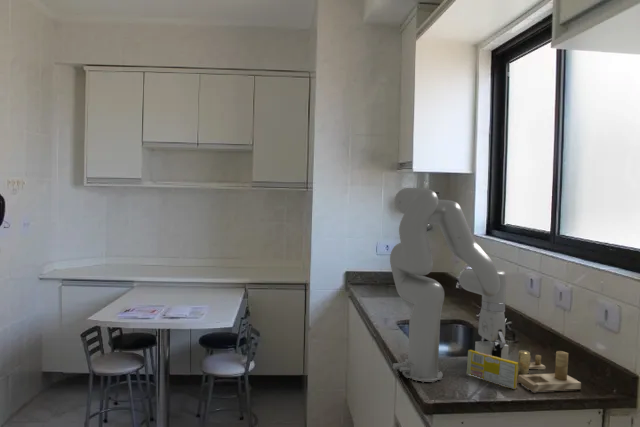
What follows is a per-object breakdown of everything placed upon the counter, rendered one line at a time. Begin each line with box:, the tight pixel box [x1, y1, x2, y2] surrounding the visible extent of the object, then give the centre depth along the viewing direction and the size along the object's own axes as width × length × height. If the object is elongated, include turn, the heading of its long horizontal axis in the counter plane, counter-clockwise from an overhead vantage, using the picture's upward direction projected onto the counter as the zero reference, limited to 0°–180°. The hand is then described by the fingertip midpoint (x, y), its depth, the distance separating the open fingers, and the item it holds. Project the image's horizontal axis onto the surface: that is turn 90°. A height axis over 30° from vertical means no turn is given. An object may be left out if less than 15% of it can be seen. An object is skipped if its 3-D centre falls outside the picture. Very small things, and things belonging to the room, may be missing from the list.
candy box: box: [466, 349, 518, 388], centre depth 159 cm, size 16×2×8 cm, turn 44°
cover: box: [474, 339, 510, 360], centre depth 174 cm, size 9×6×6 cm, turn 101°
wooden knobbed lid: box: [529, 354, 546, 370], centre depth 173 cm, size 7×4×4 cm, turn 101°
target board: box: [517, 350, 582, 391], centre depth 156 cm, size 16×8×10 cm, turn 101°
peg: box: [517, 349, 531, 375], centre depth 165 cm, size 3×3×8 cm
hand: (491, 357), depth 174 cm, fingers closed on cover, 6 cm apart
